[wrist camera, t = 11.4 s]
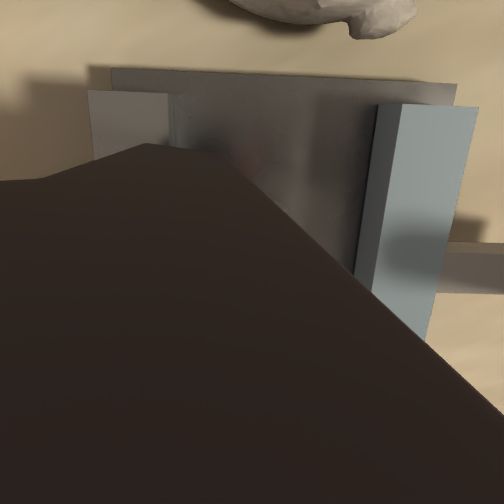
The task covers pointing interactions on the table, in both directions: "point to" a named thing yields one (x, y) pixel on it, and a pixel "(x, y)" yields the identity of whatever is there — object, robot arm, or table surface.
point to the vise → (266, 134)
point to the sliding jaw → (420, 214)
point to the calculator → (212, 353)
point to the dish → (338, 13)
